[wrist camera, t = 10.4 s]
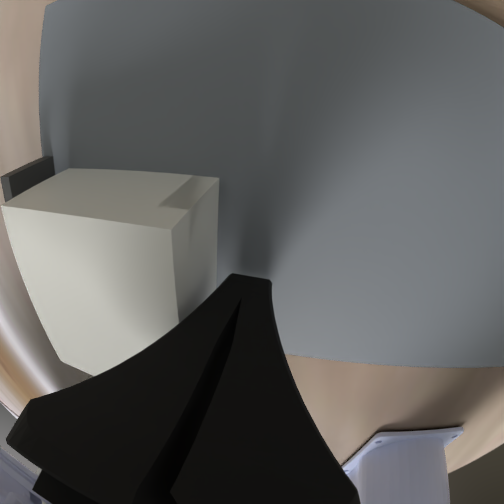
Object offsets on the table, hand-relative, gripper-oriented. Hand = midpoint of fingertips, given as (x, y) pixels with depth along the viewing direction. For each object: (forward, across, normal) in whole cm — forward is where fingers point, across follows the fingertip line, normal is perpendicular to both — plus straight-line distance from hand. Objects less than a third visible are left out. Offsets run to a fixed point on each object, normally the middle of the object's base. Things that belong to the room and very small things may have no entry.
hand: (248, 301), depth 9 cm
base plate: (+2, -5, -4) cm, 7 cm away
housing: (+1, +4, 0) cm, 4 cm away
